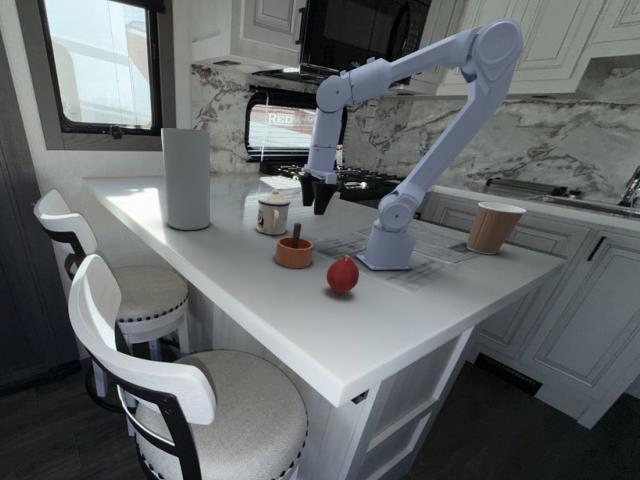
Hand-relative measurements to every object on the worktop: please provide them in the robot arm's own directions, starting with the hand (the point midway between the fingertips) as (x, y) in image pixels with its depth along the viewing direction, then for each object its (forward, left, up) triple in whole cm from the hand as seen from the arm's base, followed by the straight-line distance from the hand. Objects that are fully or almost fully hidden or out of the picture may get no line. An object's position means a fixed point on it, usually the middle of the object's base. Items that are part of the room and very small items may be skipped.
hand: (312, 210), depth 73 cm
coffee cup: (-52, 0, -11) cm, 53 cm away
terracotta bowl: (+5, +6, -10) cm, 13 cm away
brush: (+5, +6, -10) cm, 13 cm away
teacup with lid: (+5, -15, -11) cm, 19 cm away
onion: (+1, +22, -11) cm, 24 cm away
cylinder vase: (+29, -22, -11) cm, 38 cm away
